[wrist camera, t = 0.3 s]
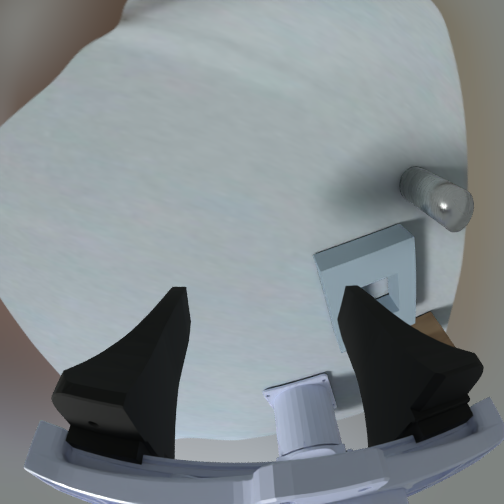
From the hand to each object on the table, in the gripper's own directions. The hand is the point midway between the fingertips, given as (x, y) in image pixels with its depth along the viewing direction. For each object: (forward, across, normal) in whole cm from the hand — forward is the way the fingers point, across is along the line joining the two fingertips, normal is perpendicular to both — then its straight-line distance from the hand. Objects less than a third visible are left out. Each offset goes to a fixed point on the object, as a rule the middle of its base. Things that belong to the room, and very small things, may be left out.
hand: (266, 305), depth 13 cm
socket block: (+10, -10, +6) cm, 15 cm away
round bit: (+10, -13, -4) cm, 16 cm away
